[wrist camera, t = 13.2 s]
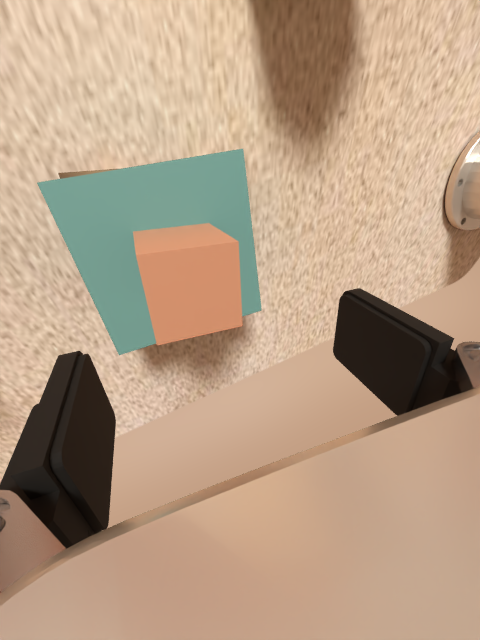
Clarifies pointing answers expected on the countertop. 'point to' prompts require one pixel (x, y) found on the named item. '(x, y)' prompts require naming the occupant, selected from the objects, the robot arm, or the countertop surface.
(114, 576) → the robot arm
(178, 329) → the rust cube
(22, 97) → the countertop surface
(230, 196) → the teal top block
